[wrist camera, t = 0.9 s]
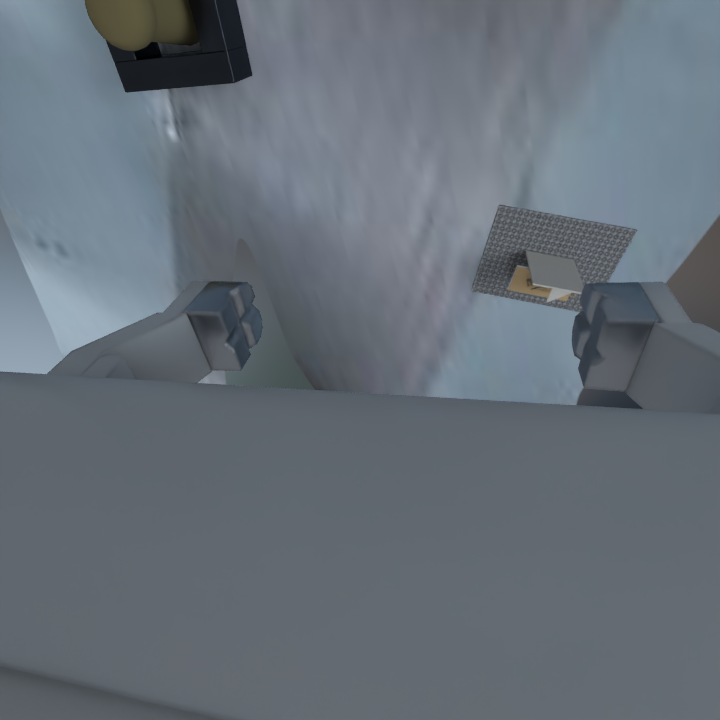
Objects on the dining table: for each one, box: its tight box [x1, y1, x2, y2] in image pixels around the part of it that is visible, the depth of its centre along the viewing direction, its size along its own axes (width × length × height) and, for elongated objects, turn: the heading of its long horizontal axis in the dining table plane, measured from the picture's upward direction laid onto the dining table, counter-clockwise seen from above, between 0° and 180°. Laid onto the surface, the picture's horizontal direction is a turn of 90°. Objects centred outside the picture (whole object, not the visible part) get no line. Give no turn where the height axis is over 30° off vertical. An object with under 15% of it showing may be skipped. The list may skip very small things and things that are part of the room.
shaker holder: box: [106, 0, 252, 92], centre depth 40 cm, size 12×12×4 cm
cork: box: [85, 0, 200, 51], centre depth 37 cm, size 6×6×11 cm
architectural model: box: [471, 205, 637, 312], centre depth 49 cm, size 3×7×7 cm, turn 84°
